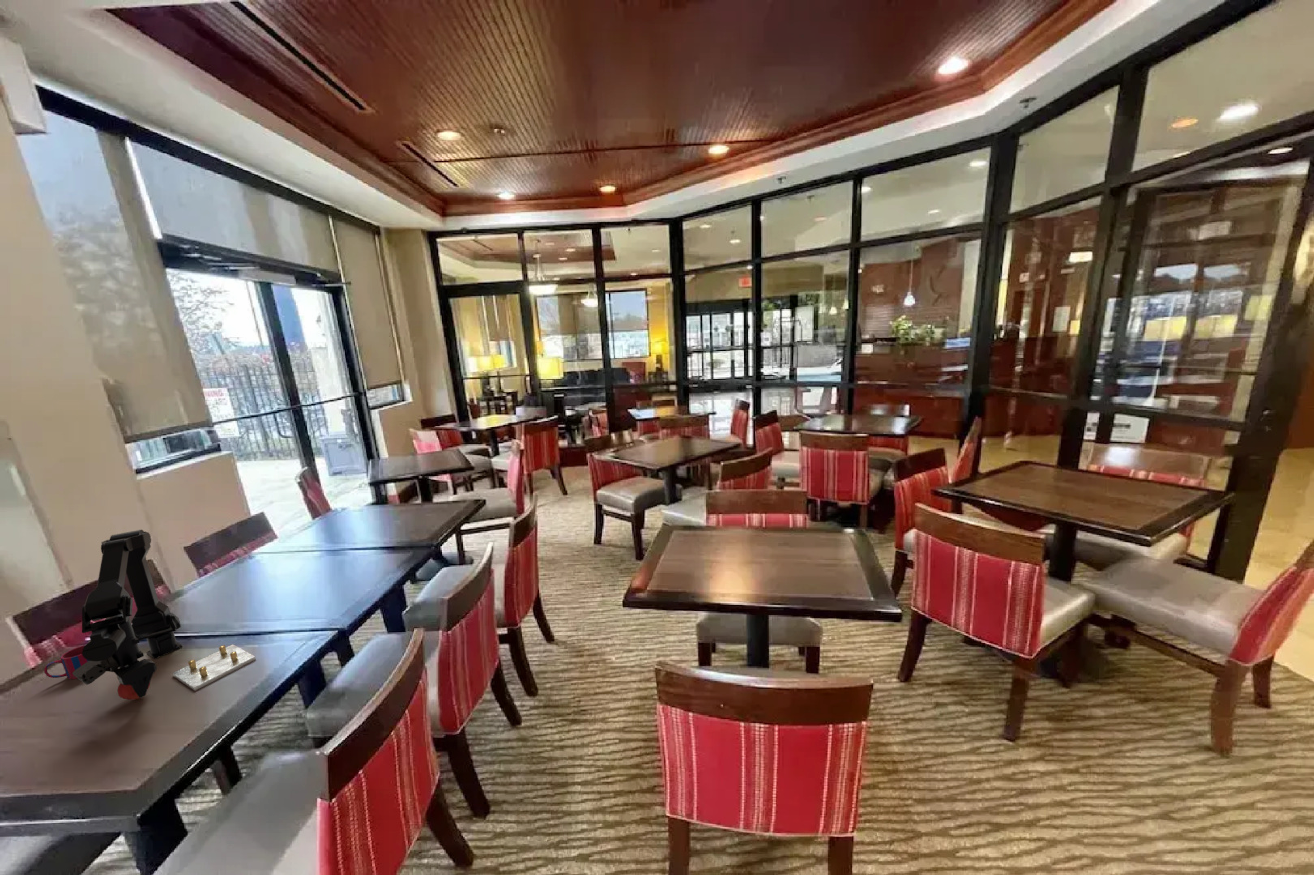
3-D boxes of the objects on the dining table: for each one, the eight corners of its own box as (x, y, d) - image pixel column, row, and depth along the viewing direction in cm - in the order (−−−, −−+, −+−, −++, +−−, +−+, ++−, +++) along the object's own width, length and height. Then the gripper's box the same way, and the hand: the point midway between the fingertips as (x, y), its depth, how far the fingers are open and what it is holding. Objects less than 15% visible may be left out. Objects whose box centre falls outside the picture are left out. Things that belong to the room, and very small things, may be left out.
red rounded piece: (117, 710, 124) (108, 683, 122) (128, 696, 129) (119, 670, 127) (147, 701, 126) (139, 675, 125) (157, 687, 131) (149, 662, 130)
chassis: (173, 676, 136) (169, 665, 135) (233, 647, 148) (230, 637, 147) (194, 690, 129) (191, 679, 129) (255, 659, 141) (253, 648, 141)
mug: (102, 670, 140) (95, 649, 139) (48, 689, 133) (40, 668, 132) (103, 660, 145) (96, 640, 143) (51, 678, 138) (43, 658, 136)
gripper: (59, 648, 121) (78, 701, 124) (84, 669, 113) (103, 725, 116) (122, 624, 131) (138, 674, 134) (149, 641, 122) (165, 694, 125)
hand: (135, 691), depth 127 cm, fingers open, 9 cm apart
